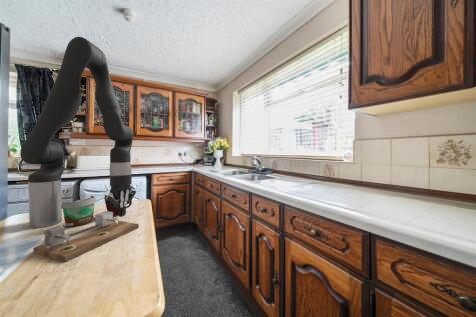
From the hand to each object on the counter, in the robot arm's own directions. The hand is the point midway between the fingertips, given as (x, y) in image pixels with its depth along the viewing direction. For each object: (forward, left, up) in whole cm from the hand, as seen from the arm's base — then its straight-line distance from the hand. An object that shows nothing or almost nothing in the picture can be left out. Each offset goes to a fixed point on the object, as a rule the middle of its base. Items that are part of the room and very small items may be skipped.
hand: (121, 216), depth 77 cm
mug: (-11, +8, -3) cm, 14 cm away
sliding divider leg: (+2, -7, -1) cm, 7 cm away
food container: (-14, -5, -3) cm, 15 cm away
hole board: (+3, -13, -3) cm, 14 cm away
